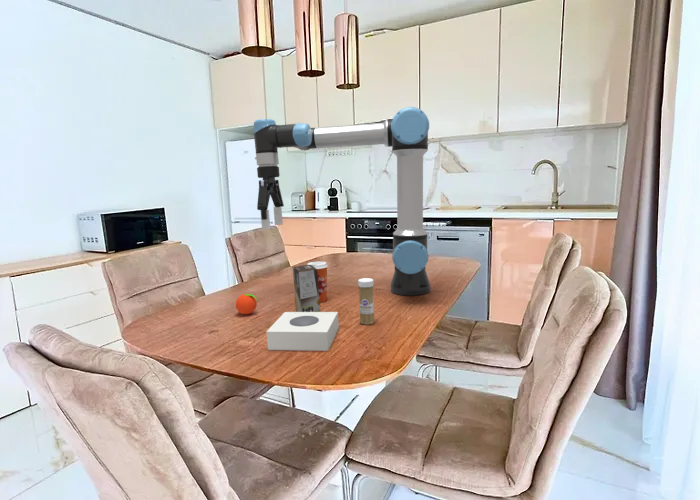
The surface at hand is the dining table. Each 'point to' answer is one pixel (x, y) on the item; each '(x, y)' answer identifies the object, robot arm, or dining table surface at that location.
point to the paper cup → (321, 279)
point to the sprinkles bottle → (366, 301)
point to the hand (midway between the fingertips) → (272, 226)
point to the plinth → (303, 331)
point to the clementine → (246, 303)
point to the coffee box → (306, 288)
